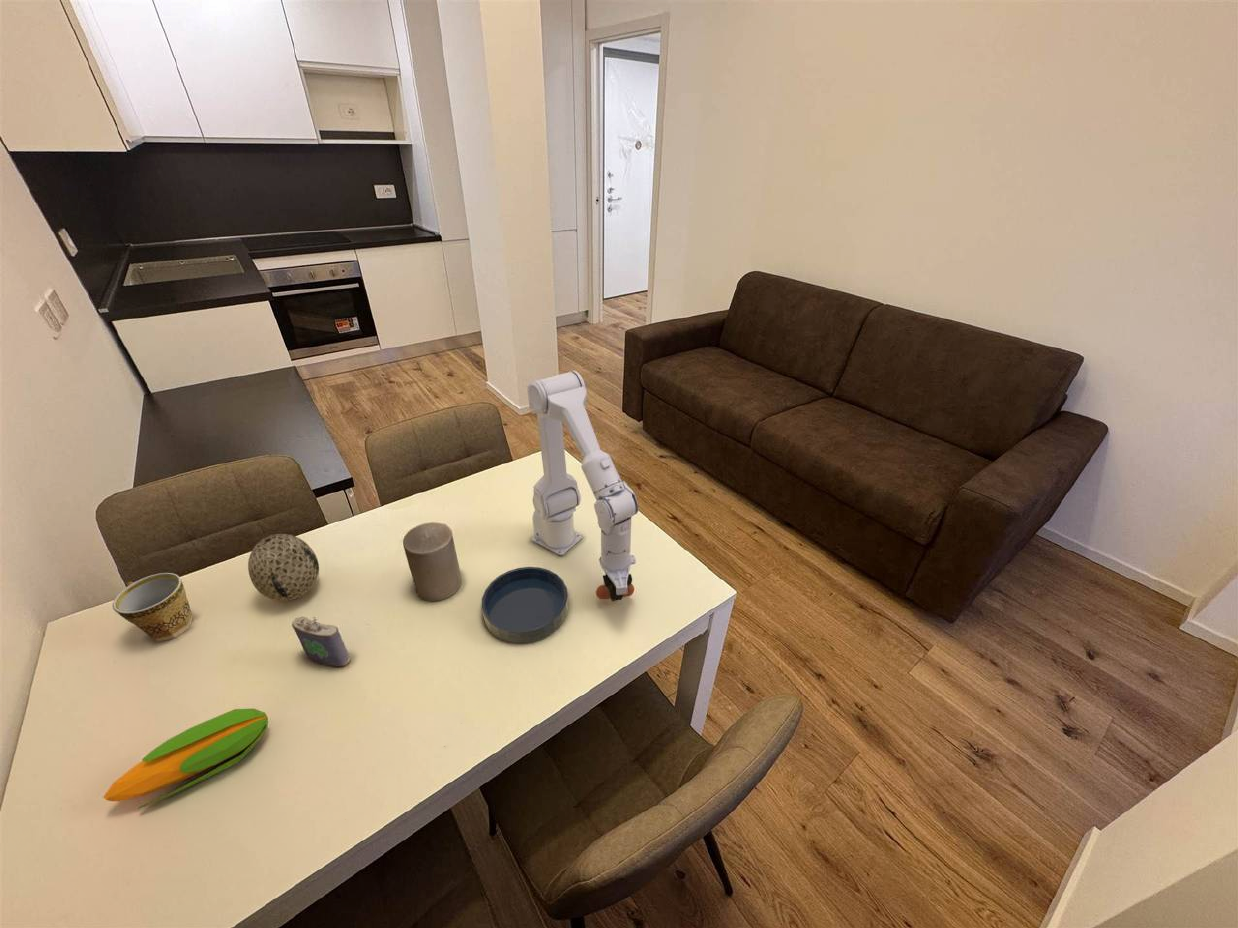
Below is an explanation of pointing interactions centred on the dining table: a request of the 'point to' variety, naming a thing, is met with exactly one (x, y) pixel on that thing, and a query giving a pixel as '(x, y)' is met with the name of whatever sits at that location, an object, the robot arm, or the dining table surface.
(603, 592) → the sausage
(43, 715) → the dining table surface
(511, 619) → the bowl
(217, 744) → the corn
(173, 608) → the ceramic cup
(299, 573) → the decorative egg
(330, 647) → the flask
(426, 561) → the pillar candle
